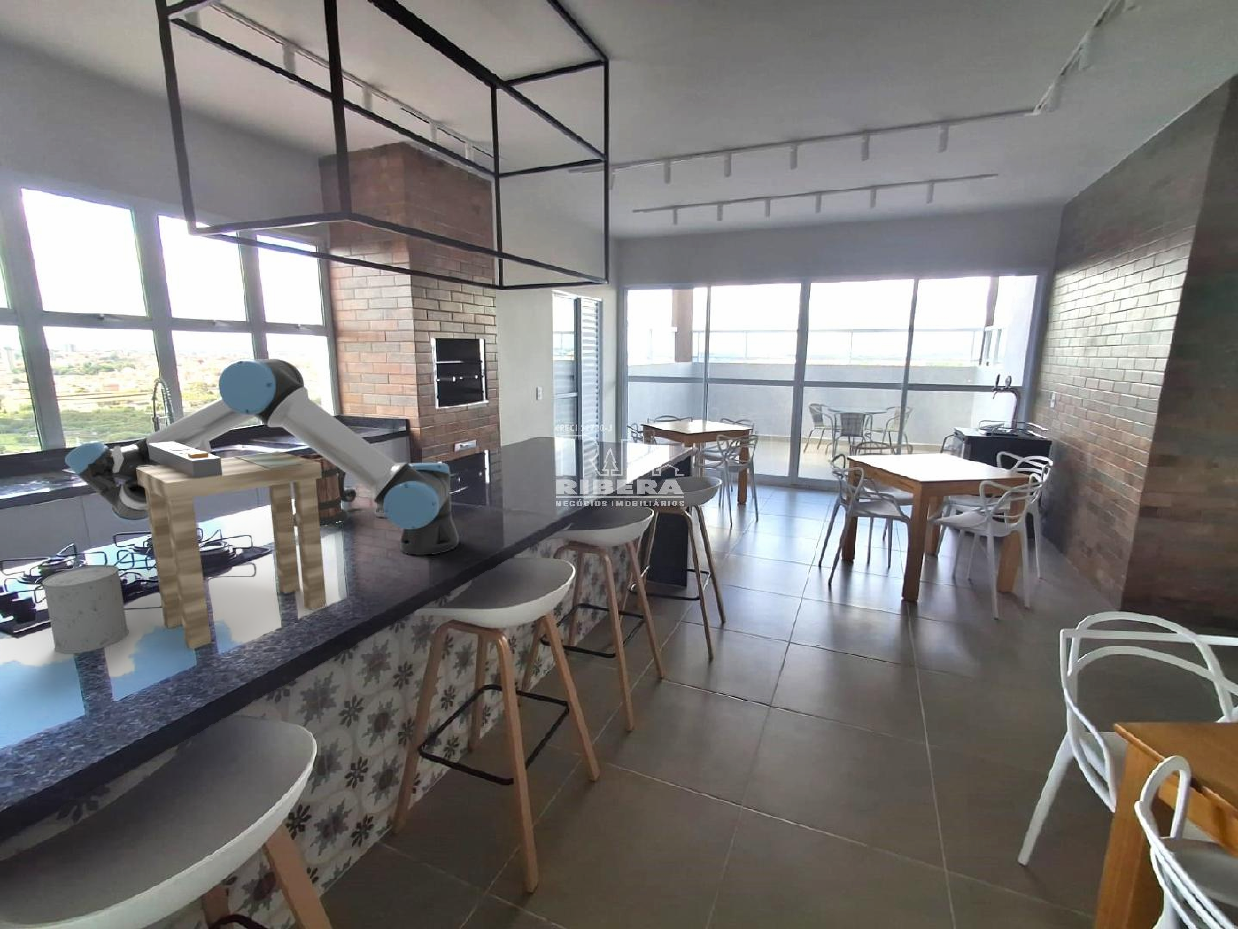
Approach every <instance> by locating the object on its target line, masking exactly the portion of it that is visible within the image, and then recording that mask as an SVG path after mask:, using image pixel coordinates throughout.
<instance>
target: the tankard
mask: <svg viewBox="0 0 1238 929" xmlns="http://www.w3.org/2000/svg"><path fill="white" fill-rule="evenodd" d="M296 456H297V457H301V458H305V459H308V460H312V461H316V462H319V463H321V475H322V478H317V479H316V488H317V500H318V512H319V524H320V527H325V525H327V526H331V525H330V524H332V525H335V524H334V523H336V522H339V521H343V522H345V521H347V520H348V519H349V518H350V517H349V516H350V514H349V513H347V511H346V510H345V509H343V508H342V507H343V506H342V502H344V503H353V502H354V501H355V500H356V497H357V492H356V490H355V489H353V488H347V489H345V477H346V475H347V473H345V472H344V471H342V470H341V469H340V468H338V467H337V466H336V465H334V464H333V463H331V462H330V461H329V460H327V459H326V458H324V457H323V456H322V455H320V454H319V453H317V454H302V455H301V454H300V455H296ZM293 503H294V504H293V505H294V508H295V500H294V502H293ZM348 517H349V518H348ZM347 518H348V519H347ZM293 519H294V527H295V528H297V520H296V512H295V513H293ZM346 519H347V520H346Z"/></svg>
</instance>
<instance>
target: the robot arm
mask: <svg viewBox="0 0 1238 929" xmlns="http://www.w3.org/2000/svg"><path fill="white" fill-rule="evenodd" d="M218 390H219V395H220V397H219V398H217V399H215V400H214V401H212V402H209V403H207V404H206V405H204V406H202V407H201V408H199V409H197V410H195V411H193V412H191V413H189V414H186V416H184V417H182V418H180V419H177V420H176V421H174V422H172V423H170V424H169V425H166V426H164V427H163V428H161V429H159V430H157V431H155V432H153V433H151V434H149V435H148V436H146V437H144V438H142V439H140V440H138V441H136V442H134V443H131V444H129V445H124V446H121V445H115V446H114V447H113V448H110V447H109V446H107V445H106V444H104V443H103V442H101V441H100V440H99V441H98V440H91V441H88V442H85V443H83V444H80V445H79V446H77V447H75V448H74V449H72V450H71V451H69V453H68V454H66V456H65V458H64V461H65V462H64V463H65V464H66V465H67V466H68V467H69V468H70V469H71V470H72V471H73V472H74V473H75V475H76V476H78V477H79V478H80V479H81V480H82V481H83V482H85V483H86V484H87V485H89V487H91V488H92V489H93V490H94V491H95V492H96V493H97V494H98V495H99V496H101V497H102V499H103V500H104V501H106V502H107V503H108V504H109V505H110V506H111V511H112V513H113V515H114V517H115V518H116V519H117V520H119V521H120V522H123V523H124V524H125V523H126V524H140V523H143V522H145V521H147V520H149V514H148V507H147V500H146V494H145V488H144V487H143V486H141V485H139V484H138V479H137V472H136V468H140V467H149V466H158V465H163V464H160V463H158V462H156V461H154V460H151V459H150V458H149V451H148V444H150V443H161V442H176V443H179V444H182V445H185V446H188V447H191V448H194V449H196V450H199V451H202V452H203V451H205V452H208V454H211V455H214V456H217V453H216V452H215V451H212V448H211V444H210V441H212V440H214V439H216V438H218V437H220V436H221V435H223V434H225V433H227V432H229V431H231V430H233V429H235V428H237V427H239V426H240V425H242V424H244V423H247V422H249V421H250V420H253V419H254V418H256V419H257V420H259V421H261V422H262V423H263V424H265V425H266V426H268V427H269V428H282V429H284V430H285V431H286V432H288V433H290V434H291V435H292V436H294V437H295V438H296V439H298V440H299V441H300V442H302V443H303V444H304V445H306V446H308V447H309V448H310V449H312V450H313V451H314V452H316V453H317V454H320V455H322V456H323V457H324V458H326V459H327V460H329V461H330V462H331V463H333V464H334V465H336V466H337V467H338V468H340V469H341V470H342V471H344V472H345V473H346V475H348V476H350V477H351V478H352V479H353V480H355V481H356V482H358V483H359V484H361V485H362V486H363V487H365V488H366V489H367V490H368V491H370V493H371V498H372V501H373V502H374V503H376V505H377V504H378V505H380V506H381V507H382V508H384V511H385V515H386V518H387V520H388V521H389V522H390V523H392V524H393V525H394V526H396V527H398V528H401V529H402V532H401V537H400V539H399V548H400V549H401V550H400V551H401V552H402V551H403V552H402V553H404V552H407V553H409V554H408V555H411V554H416V555H415V556H424V555H423V554H432V553H437V552H443V551H446V550H449V549H451V548H453V547H454V546H457V545H458V543H459V544H460V539H459V538H460V537H459V534H458V531H457V527H456V526H455V523H454V521H453V517H452V502H451V501H452V499H451V498H452V497H451V475H452V474H451V471H450V466H449V465H448V464H447V463H445V462H413V463H407V462H405V461H404V462H396V461H394V460H392V458H390V457H388V456H387V455H386V454H384V453H383V452H381V451H380V450H379V449H377V448H376V447H375V446H374V445H372V444H371V443H370V442H368V441H367V440H365V438H363V437H361V436H360V435H359V434H357V433H356V432H355V431H353V430H352V429H350V428H349V427H348V426H347V425H345V424H344V423H342V421H340V420H338V419H337V418H336V417H335V416H333V415H331V414H330V413H329V412H327V410H325V409H323V408H322V407H321V406H320V405H318V404H317V403H315V402H314V401H313V400H312V399H310V398H309V391H308V389H307V388H306V387H305V381H304V378H303V375H302V373H301V372H300V370H299V369H298V368H297V367H296V366H295V365H293V364H291V363H290V362H288V361H285V360H282V359H278V358H266V359H265V358H263V359H262V358H251V357H250V358H244V359H240V360H236V361H233V362H231V363H229V365H227V366H226V367H225V368H224V369H223V371H222V372H221V374H220V375H219V380H218ZM384 511H383V512H384ZM458 546H459V545H458ZM417 554H418V555H417Z"/></svg>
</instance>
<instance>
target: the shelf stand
mask: <svg viewBox="0 0 1238 929" xmlns="http://www.w3.org/2000/svg"><path fill="white" fill-rule="evenodd" d="M297 456H298V455H293V454H290V453H285V452H282V451H278V452H276V451H275V452H269V453H268V452H267V453H265V452H264V453H255V454H254V453H253V454H246V455H237V456H233V457H223V458H221V467H222V475H216V476H208V477H200V478H193V477H190V476H188V475H186V474H184V473H181V472H179V471H177V470H174V469H172V468H170V467H167V466H165V465H158V466H149V467H140V468H136V472H137V479H138V484H139V485H141V486H143V487H144V488H145V494H146V500H147V507H148V514H149V519H148V521H149V528H150V534H151V539H152V546H153V548H152V549H153V554H154V560H155V568H156V573H157V580H158V581H157V582H158V587H159V588H158V590H159V594H160V601H161V602H160V603H161V609H162V616H163V622H164V624H165V625H166V627H167V628H169V629H173V628H176V627H179V626H182V629H183V636H184V638H183V639H184V644H185V645H186V646H187V647H188V649H190V650H194V649H196V648H200V647H203V646H206V645H208V644H209V645H210V644H211V643H212V636H211V629H210V628H211V627H210V621H209V620H210V619H209V614H208V606H207V597H206V589H205V584H204V583H205V582H204V574H203V566H202V560H201V551H200V543H199V537H198V536H199V535H198V529H197V528H198V527H197V520H196V513H195V512H196V511H195V506H194V498H199V497H205V496H212V495H219V494H224V493H225V494H226V493H232V492H237V491H238V492H239V491H244V490H245V491H246V490H249V489H250V490H251V489H257V488H264V487H268V490H269V491H268V493H269V501H270V510H271V520H272V522H271V523H272V531H273V533H272V534H273V540H274V542H273V543H274V552H275V558H276V560H275V561H276V570H277V571H276V572H277V579H278V589H279V591H280V592H282V593H284V594H285V595H286V594H288V593H289V594H290V593H292V592H295V591H300V590H301V585H302V593H303V594H302V595H303V604H304V607H305V608H308V609H309V608H310V609H309V610H311V609H312V610H314V609H313V608H315V609H317V608H316V607H318V608H320V606H321V607H323V605H324V606H326V605H327V597H326V596H327V595H326V585H325V583H326V582H325V573H324V562H323V560H324V559H323V550H322V537H321V528H320V527H321V526H320V524H319V512H318V500H317V488H316V479H317V478H322V475H321V463H319V462H316V461H312V460H308V459H305V458H301V457H297ZM291 483H292V486H293V495H294V501H295V507H294V508H295V513H296V520H297V527H296V529H297V530H296V529H295V526H294V519H293V515H294V512H293V502H292V501H293V499H292V489H291V488H292V487H291ZM295 530H296V531H297V539H298V540H297V541H296V532H295ZM297 542H298V549H299V550H298V551H299V552H298V551H297ZM297 552H298V553H299V561H300V562H299V563H300V572H301V583H302V584H301V585H300V576H299V575H300V573H299V563H298V553H297ZM325 604H326V605H325Z"/></svg>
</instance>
